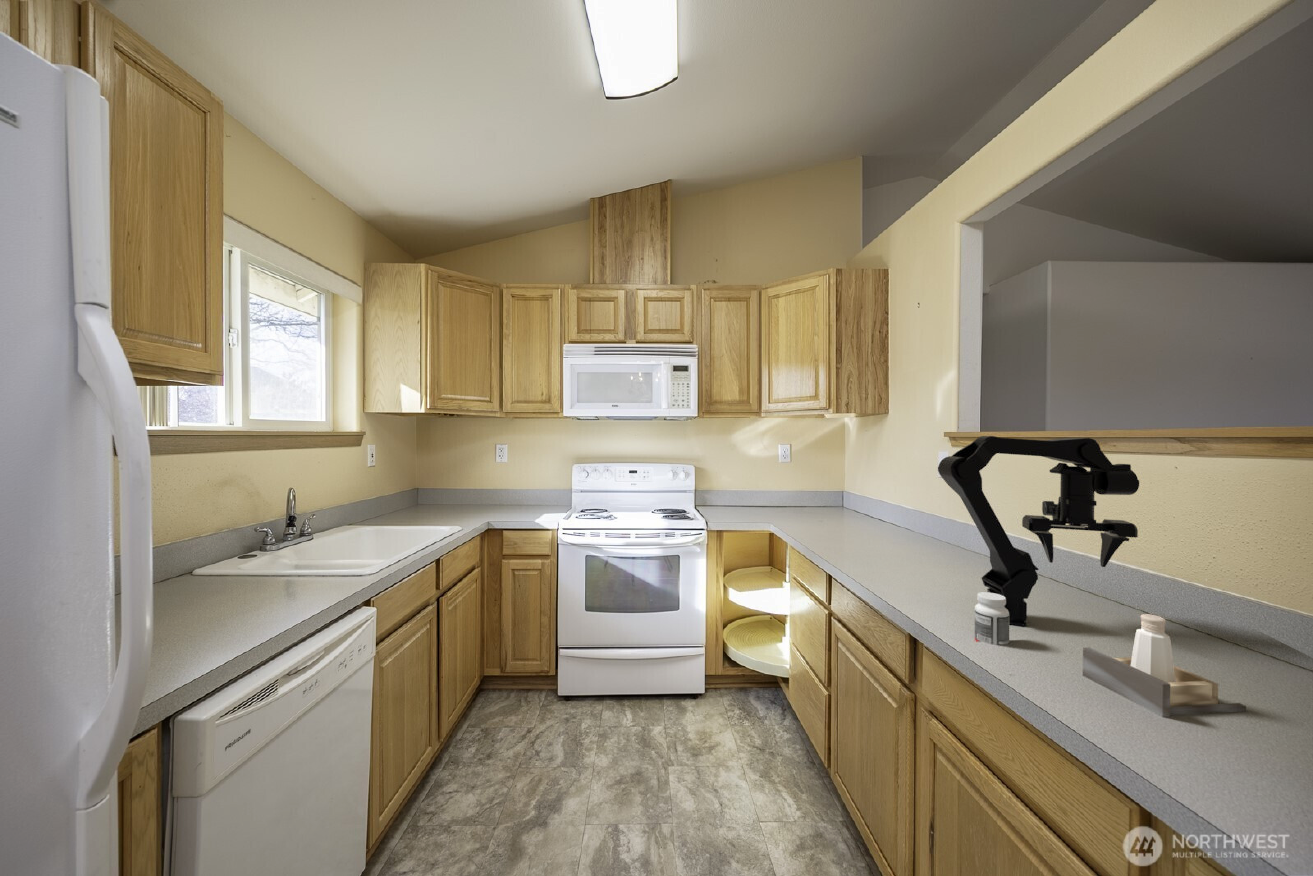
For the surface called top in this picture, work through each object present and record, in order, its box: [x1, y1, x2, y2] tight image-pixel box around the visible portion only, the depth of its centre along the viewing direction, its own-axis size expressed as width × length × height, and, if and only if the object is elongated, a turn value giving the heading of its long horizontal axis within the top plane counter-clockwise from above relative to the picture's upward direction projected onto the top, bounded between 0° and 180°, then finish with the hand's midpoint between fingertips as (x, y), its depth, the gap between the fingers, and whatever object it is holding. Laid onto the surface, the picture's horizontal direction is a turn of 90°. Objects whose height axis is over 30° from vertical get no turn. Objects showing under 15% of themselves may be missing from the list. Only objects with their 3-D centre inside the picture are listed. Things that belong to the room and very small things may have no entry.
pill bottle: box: [974, 591, 1010, 646], centre depth 97 cm, size 6×6×10 cm
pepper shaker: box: [1130, 613, 1176, 683], centre depth 77 cm, size 5×5×11 cm
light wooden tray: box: [1113, 656, 1219, 707], centre depth 77 cm, size 9×9×4 cm
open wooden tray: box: [1082, 646, 1247, 718], centre depth 79 cm, size 16×16×6 cm
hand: (1076, 564), depth 108 cm, fingers open, 9 cm apart
